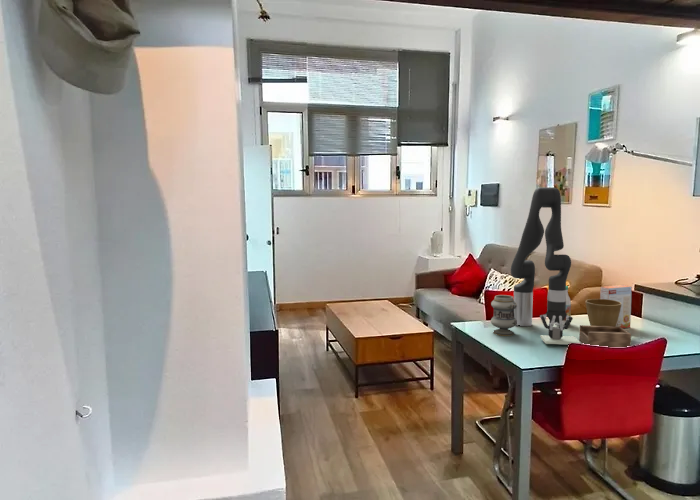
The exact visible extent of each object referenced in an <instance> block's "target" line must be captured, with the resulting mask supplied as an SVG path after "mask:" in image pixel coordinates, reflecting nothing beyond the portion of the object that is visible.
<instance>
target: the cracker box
mask: <svg viewBox="0 0 700 500" xmlns="http://www.w3.org/2000/svg"><path fill="white" fill-rule="evenodd" d="M599 292H600V296H599V299H608V300H615V301H619V302H621V303H622V304H621V309H620V314H619V317H618V321H617V324H616V326H617V327H621V328H623V329H627V328H631V320H632V319H631V315H632V314H631V313H632V286H629V285H624V284H620V285H619V284H617V285H607V286H606V285H605V286H600V291H599Z"/></svg>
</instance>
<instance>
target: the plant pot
mask: <svg viewBox="0 0 700 500" xmlns="http://www.w3.org/2000/svg"><path fill="white" fill-rule="evenodd" d="M621 304H622V303H621V302H619V301H615V300H608V299H600V298H591V299H590V298H589V299H586V300H585V307H586V312H587V313H586V314H587V319H588V321H589V326H616V324H617V321H618V317H619V314H620V309H621Z"/></svg>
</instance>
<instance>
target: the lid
mask: <svg viewBox="0 0 700 500" xmlns="http://www.w3.org/2000/svg"><path fill="white" fill-rule="evenodd" d="M552 330H553V336H552V338H550V337H549V335H548V334H547V335H545V334H544V335H543V334H540V339H541V340H542V341H543V342H544V344H545V345H568V344H569V343H581V342H580V341H579V339H577V337H575V336H572V335H570V336H569V335H568V336H567V335H563V337H561V339H560V328H559V326H553V329H552ZM581 344H582V343H581Z"/></svg>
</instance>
